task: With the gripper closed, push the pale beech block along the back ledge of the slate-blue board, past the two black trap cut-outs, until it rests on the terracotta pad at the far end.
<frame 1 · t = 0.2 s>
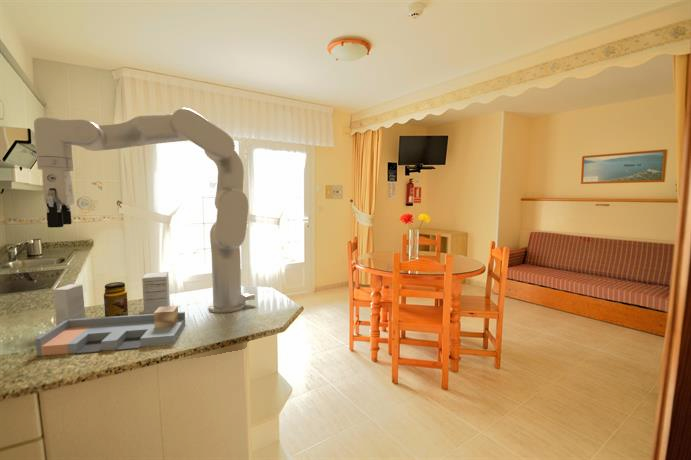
hand: (60, 225, 94), 31 cm above the counter, tool pointing down, fingers open, 9 cm apart
block: (166, 324, 96), point 2 cm above the counter, touching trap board
condiment: (113, 321, 105), on the counter
supplement box: (157, 310, 115), on the counter
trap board: (120, 339, 91), on the counter
skincare box: (71, 325, 101), on the counter
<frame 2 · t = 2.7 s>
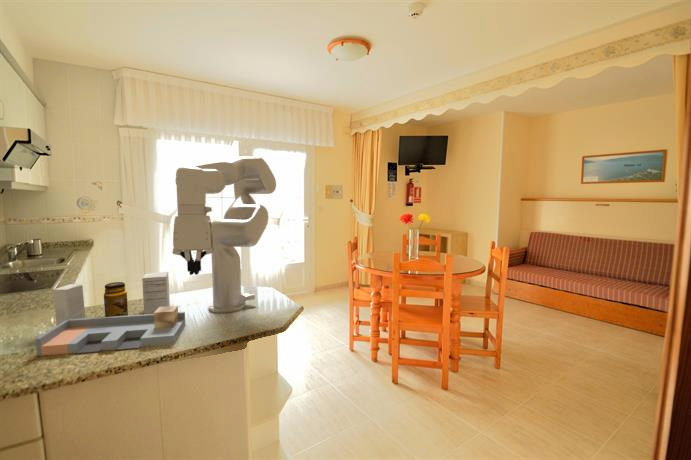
hand: (194, 273, 97), 17 cm above the counter, tool pointing down, fingers closed
nothing on the counter moved.
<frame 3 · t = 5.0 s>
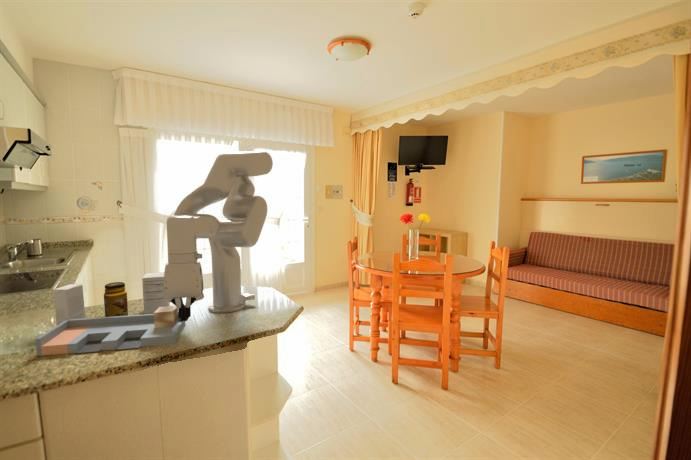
hand: (184, 319, 97), 3 cm above the counter, tool pointing down, fingers closed
block: (166, 324, 96), point 2 cm above the counter, touching gripper
everything else where it was.
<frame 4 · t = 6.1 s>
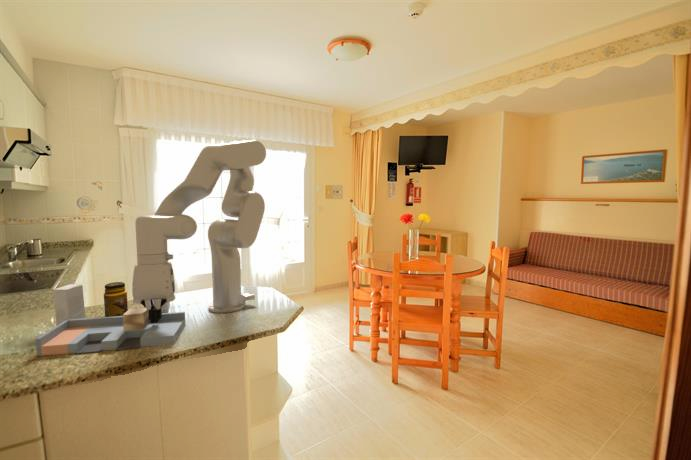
hand: (155, 321, 95), 3 cm above the counter, tool pointing down, fingers closed
block: (137, 326, 94), point 2 cm above the counter, touching gripper, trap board
everything else where it was.
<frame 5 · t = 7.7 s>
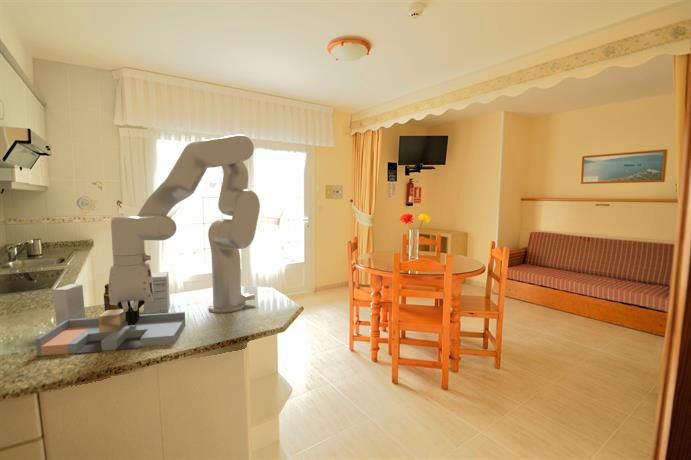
hand: (133, 323, 94), 3 cm above the counter, tool pointing down, fingers closed
block: (113, 327, 93), point 2 cm above the counter, touching gripper, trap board
everything else where it was.
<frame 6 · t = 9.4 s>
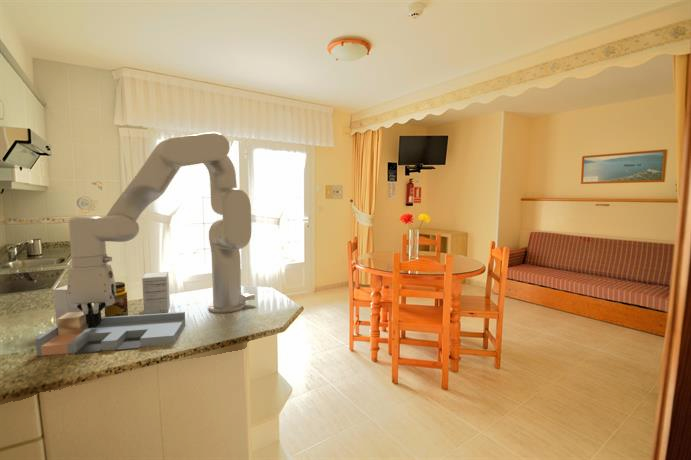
hand: (94, 326, 92), 3 cm above the counter, tool pointing down, fingers closed
block: (74, 330, 91), point 2 cm above the counter, touching gripper, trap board
everything else where it was.
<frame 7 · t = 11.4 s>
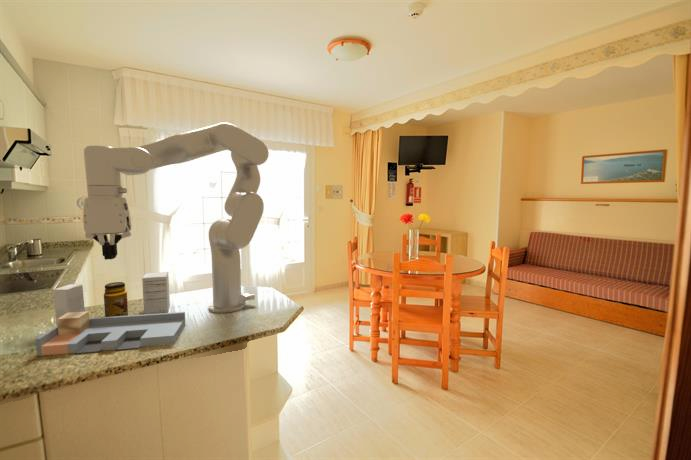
hand: (110, 258, 92), 22 cm above the counter, tool pointing down, fingers closed
block: (74, 330, 91), point 2 cm above the counter, touching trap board
everything else where it was.
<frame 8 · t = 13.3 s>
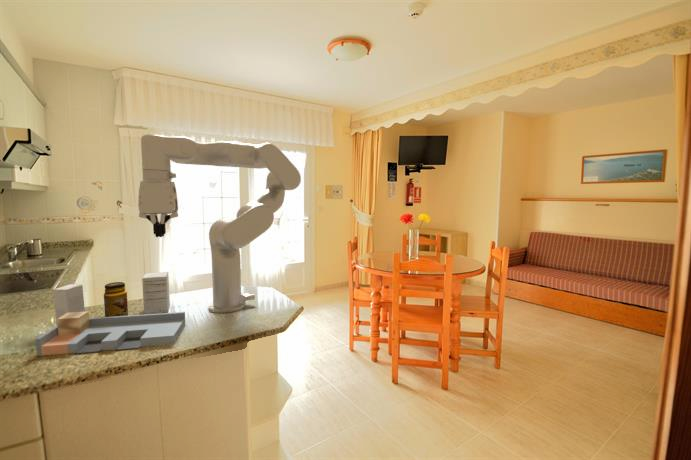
hand: (159, 236, 102), 27 cm above the counter, tool pointing down, fingers closed
nothing on the counter moved.
at the end: block inside the target area (0.1 cm from its centre), point 2.4 cm above the counter; block tilted 0°; block moved 23.2 cm from its start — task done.
